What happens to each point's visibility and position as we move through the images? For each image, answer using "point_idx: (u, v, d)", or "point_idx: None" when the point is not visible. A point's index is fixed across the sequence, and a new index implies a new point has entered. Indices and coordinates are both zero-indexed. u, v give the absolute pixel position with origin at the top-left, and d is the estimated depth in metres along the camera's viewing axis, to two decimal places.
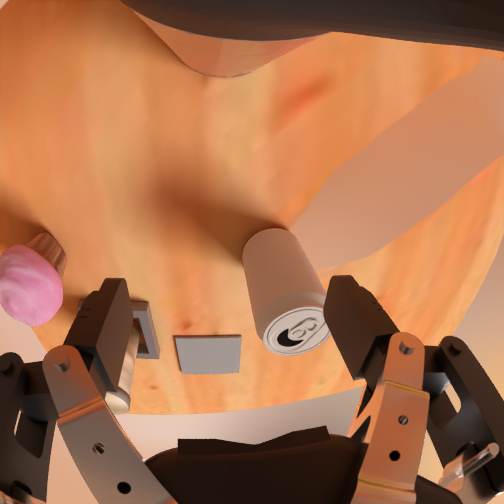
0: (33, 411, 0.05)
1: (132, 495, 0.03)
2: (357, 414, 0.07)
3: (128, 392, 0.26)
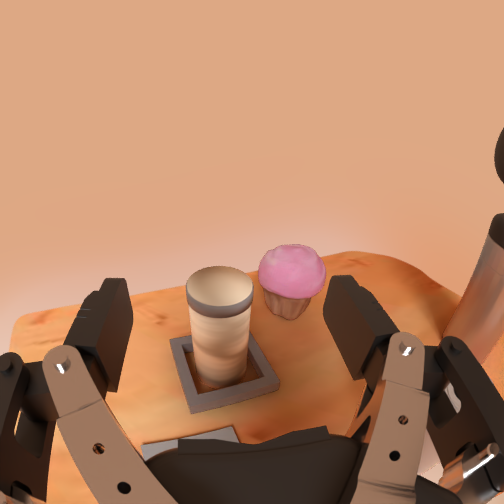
0: (33, 411, 0.05)
1: (132, 495, 0.03)
2: (357, 414, 0.07)
3: (233, 318, 0.22)
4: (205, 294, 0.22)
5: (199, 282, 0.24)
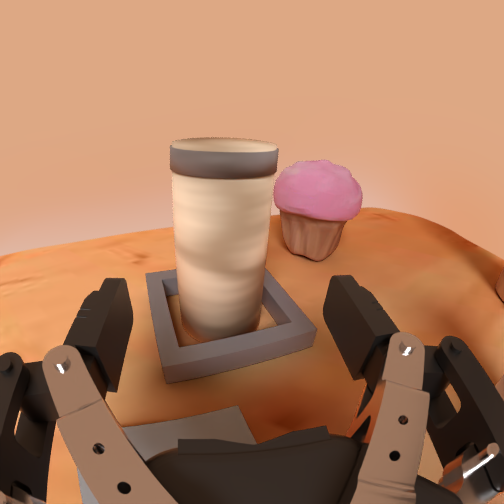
0: (33, 411, 0.05)
1: (132, 495, 0.03)
2: (357, 414, 0.07)
3: (245, 184, 0.13)
4: (200, 144, 0.13)
5: (192, 141, 0.14)
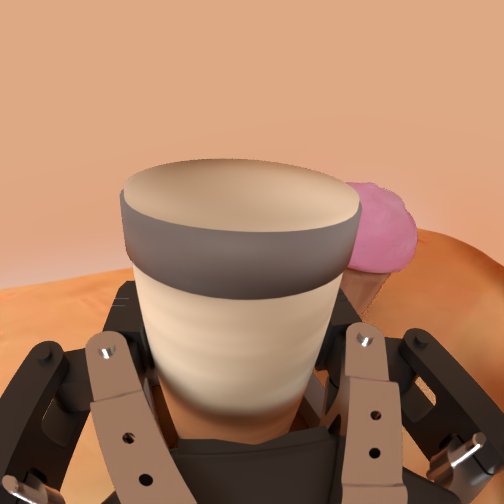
0: (66, 402, 0.06)
1: (152, 488, 0.03)
2: (325, 410, 0.07)
3: (302, 302, 0.05)
4: (186, 194, 0.05)
5: (171, 175, 0.06)
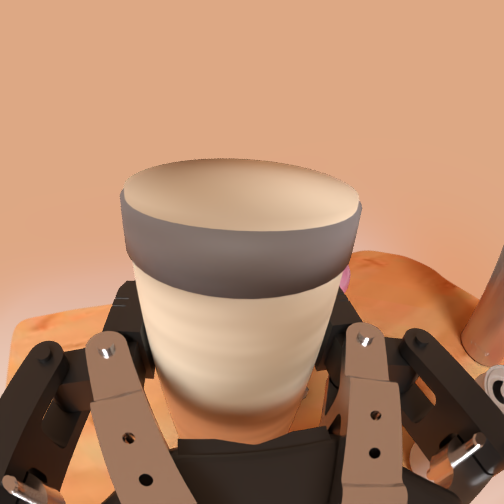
0: (66, 402, 0.06)
1: (152, 488, 0.03)
2: (325, 410, 0.07)
3: (302, 301, 0.05)
4: (186, 194, 0.05)
5: (172, 175, 0.06)
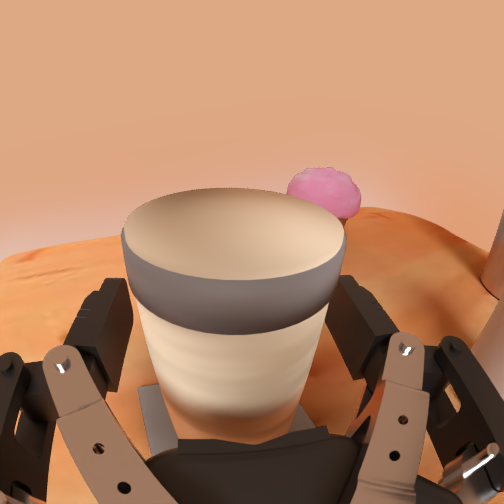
0: (33, 411, 0.05)
1: (132, 495, 0.03)
2: (357, 414, 0.07)
3: (288, 334, 0.06)
4: (181, 239, 0.06)
5: (168, 213, 0.07)
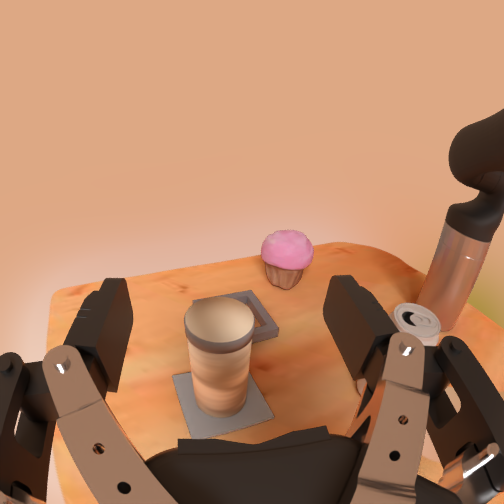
0: (33, 411, 0.05)
1: (132, 495, 0.03)
2: (357, 414, 0.07)
3: (233, 354, 0.21)
4: (204, 329, 0.21)
5: (198, 315, 0.22)
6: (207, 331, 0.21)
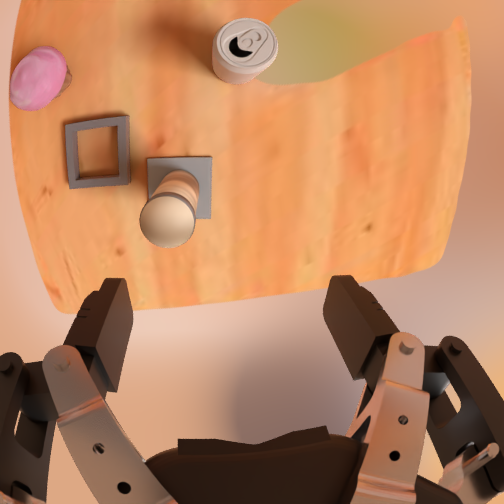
0: (33, 411, 0.05)
1: (132, 495, 0.03)
2: (357, 414, 0.07)
3: (194, 215, 0.29)
4: (178, 237, 0.28)
5: (161, 237, 0.28)
6: (180, 236, 0.28)
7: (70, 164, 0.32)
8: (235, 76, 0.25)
